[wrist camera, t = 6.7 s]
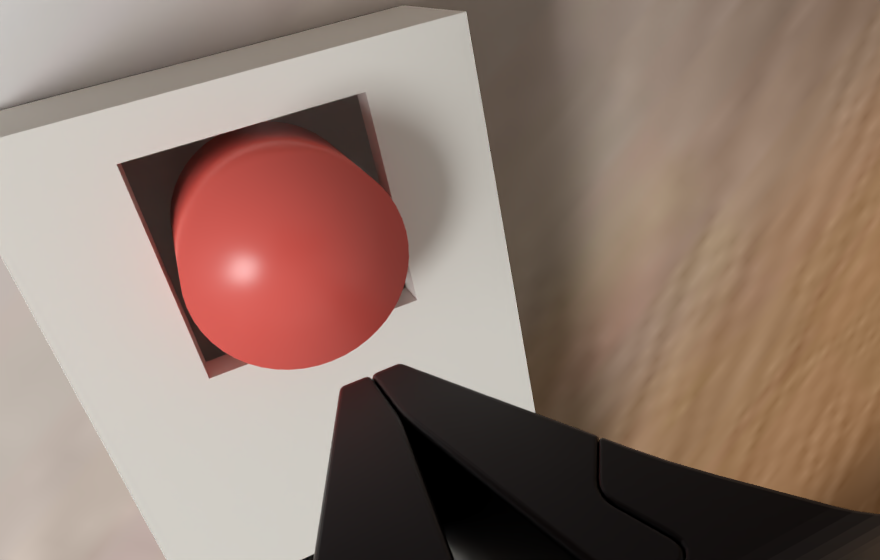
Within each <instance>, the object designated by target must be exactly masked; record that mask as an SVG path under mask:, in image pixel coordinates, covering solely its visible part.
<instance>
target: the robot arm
mask: <svg viewBox="0 0 880 560" xmlns="http://www.w3.org/2000/svg"><path fill="white" fill-rule="evenodd" d="M313 560H880V514H874V513H867V512H860V511H854V510H849V509H845V508H840V507H836V506H832V505H828V504H824V503H821V502H817V501H813V500H809V499H806V498H802V497H798V496H794V495H790V494H787V493H783V492H779V491H775V490H772V489H768V488H764V487H760V486H757V485H753V484H749V483H745V482H741V481H738V480H734V479H730V478H726V477H723V476H719V475H715V474H712V473H708V472H705V471H701V470H698V469H694V468H691V467H687V466H684V465H681V464H677V463H674V462H670V461H667V460H664V459H661V458H658V457H655V456H652V455H650V454H647V453H644V452H641V451H638V450H635V449H632V448H629V447H626V446H624V445H621V444H618V443H615V442H613V441H610V440H607V439H605V438H601V439H600V440H599V438H598V437H597V436H596V435H593V434H590V433H588V432H585V431H582V430H580V429H577V428H574V427H572V426H569V425H566V424H563V423H561V422H558V421H555V420H553V419H550V418H547V417H545V416H542V415H539V414H536V413H534V412H531V411H528V410H526V409H523V408H520V407H517V406H515V405H512V404H509V403H507V402H504V401H501V400H499V399H496V398H493V397H490V396H488V395H485V394H482V393H480V392H477V391H474V390H472V389H469V388H466V387H463V386H461V385H458V384H455V383H453V382H450V381H447V380H445V379H442V378H439V377H436V376H434V375H431V374H428V373H426V372H423V371H420V370H418V369H415V368H412V367H409V366H407V365H404V364H397V365H394V366H392V367H389V368H387V369H384V370H382V371H379V372H377V373H375V374H374V375H373V378H372V379H371V378H370V377H364V378H362V379H359V380H357V381H354V382H352V383H349V384H347V385H344V386H342V387H341V389H340V391H339V397H338V404H337V410H336V417H335V423H334V430H333V436H332V442H331V449H330V455H329V462H328V468H327V475H326V481H325V488H324V494H323V501H322V507H321V514H320V520H319V526H318V533H317V539H316V546H315V552H314V559H313Z"/></svg>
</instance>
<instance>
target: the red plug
mask: <svg viewBox="0 0 880 560" xmlns="http://www.w3.org/2000/svg"><path fill="white" fill-rule="evenodd" d="M170 224H171V230H172V236H173V242H174V249H175V255H176V261H177V267H178V273H179V279H180V285H181V291H182V295H183V298H184V301H185V304H186V307H187V309H188V311H189V313H190V315H191V317H192V319H193V321H194V322H195V324H196V325H197V326H198V328H199V329H200V331H201V332H202V333H203V334H204V335H205V336H206V337H207V338H208V339H209V340H210V341H211V342H212V343H213V344H214V345H216V346H217V347H218V348H219V349H221V350H222V351H223V352H225V353H227V354H229V355H230V356H232V357H234V358H236V359H238V360H240V361H243V362H245V363H248V364H251V365H255V366H258V367H262V368H269V369H277V370H294V369H304V368H309V367H314V366H319V365H322V364H325V363H328V362H331V361H333V360H335V359H338V358H340V357H342V356H344V355H346V354H348V353H349V352H351V351H353V350H354V349H356V348H357V347H359V346H360V345H361V344H363V343H364V342H365V341H367V340H368V339H369V338H370V337H371V336H372V335H373V334H374V333H375V332H376V331H378V329H379V328H380V327H381V326H382V325H383V323H384V322H385V321H386V320H387V318H388V317H389V315H390V314H391V312H392V311H393V309H394V308H395V306H396V304H397V302H398V300H399V298H400V296H401V293H402V290H403V287H404V284H405V280H406V276H407V272H408V262H409V245H408V238H407V233H406V229H405V226H404V223H403V219H402V217H401V215H400V213H399V211H398V209H397V207H396V205H395V203H394V202H393V200H392V199H391V197H390V196H389V195H388V193H387V192H386V191H385V190H384V189H383V188H382V187H381V186H380V184H378V183H377V182H376V181H375V180H374V179H373V178H371V177H370V176H369V175H368V174H367V173H365V172H364V171H363V170H362V169H360V168H359V167H358V166H357V165H356V164H354V163H353V162H352V161H351V160H350V159H348V158H347V157H346V156H345V155H344V154H342V153H341V152H340V151H339V150H337V149H336V148H335V147H334V146H333V145H331V144H330V143H329V142H328V141H327V140H325V139H324V138H322V137H320V136H319V135H317V134H316V133H314V132H311V131H309V130H307V129H305V128H302V127H299V126H296V125H293V124H287V123H281V122H260V123H257V124H253V125H250V126H247V127H243V128H240V129H236V130H233V131H229V132H226V133H222V134H219V135H217V136H215V137H214V138H213V139H211V140H210V141H208V142H207V143H206V144H204V145H203V146H202V147H201V148H200V149H199V150H198V151H197V152H196V153H195V154H194V155H193V156H192V157H191V159H190V160H189V161H188V162H187V164H186V165H185V167H184V169H183V170H182V172H181V174H180V175H179V178H178V180H177V182H176V185H175V188H174V191H173V195H172V199H171V208H170Z"/></svg>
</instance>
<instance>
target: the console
mask: <svg viewBox="0 0 880 560" xmlns="http://www.w3.org/2000/svg"><path fill="white" fill-rule="evenodd" d="M260 122H281V123H287V124H293V125H296V126H299V127H302V128H305V129H307V130H309V131H311V132H314V133H316V134H317V135H319V136H320V137H322V138H324V139H325V140H327V141H328V142H329V143H330V144H331V145H333V146H334V147H335V148H336V149H337V150H339V151H340V152H341V153H342V154H344V155H345V156H346V157H347V158H348V159H350V160H351V161H352V162H353V163H354V164H356V165H357V166H358V167H359V168H360V169H362V170H363V171H364V172H365V173H367V174H368V175H369V176H370V177H371V178H373V179H374V180H375V181H376V182H377V183H378V184H380V186H381V187H382V188H383V189H384V190H385V191H386V192H387V193H388V195H389V196H390V197H391V199H392V200H393V202H394V203H395V205H396V207H397V209H398V211H399V213H400V215H401V217H402V219H403V223H404V226H405V229H406V233H407V238H408V245H409V262H408V272H407V276H406V280H405V284H404V287H403V290H402V293H401V296H400V298H399V300H398V302H397V304H396V306H395V308H394V309H393V311H392V312H391V314H390V315H389V317H388V318H387V320H386V321H385V322H384V323H383V325H382V326H381V327H380V328H379V329H378V331H376V332H375V333H374V334H373V335H372V336H371V337H370V338H369V339H368V340H367V341H365V342H364V343H363V344H361V345H360V346H359V347H357V348H356V349H354V350H353V351H351V352H349V353H348V354H346V355H344V356H342V357H340V358H338V359H335V360H333V361H331V362H328V363H325V364H322V365H319V366H314V367H309V368H304V369H294V370H277V369H269V368H262V367H258V366H255V365H251V364H248V363H245V362H243V361H240V360H238V359H236V358H234V357H232V356H230V355H229V354H227V353H225V352H223V351H222V350H221V349H219V348H218V347H217V346H216V345H214V344H213V343H212V342H211V341H210V340H209V339H208V338H207V337H206V336H205V335H204V334H203V333H202V332H201V331H200V329H199V328H198V326H197V325H196V324H195V322H194V321H193V319H192V317H191V315H190V313H189V311H188V309H187V307H186V304H185V301H184V298H183V295H182V291H181V285H180V279H179V273H178V267H177V261H176V255H175V249H174V242H173V236H172V230H171V224H170V208H171V199H172V195H173V191H174V188H175V185H176V182H177V180H178V178H179V175H180V174H181V172H182V170H183V169H184V167H185V165H186V164H187V162H188V161H189V160H190V159H191V157H192V156H193V155H194V154H195V153H196V152H197V151H198V150H199V149H200V148H201V147H202V146H203V145H204V144H206V143H207V142H208V141H210V140H211V139H213V138H214V137H215V136H217V135H219V134H222V133H226V132H229V131H233V130H236V129H240V128H243V127H247V126H250V125H253V124H257V123H260ZM0 256H1V258H2V260H3V262H4V264H5V266H6V267H7V269H8V271H9V273H10V275H11V277H12V278H13V280H14V282H15V284H16V286H17V288H18V289H19V291H20V293H21V295H22V297H23V298H24V300H25V302H26V304H27V306H28V308H29V309H30V311H31V313H32V315H33V317H34V319H35V320H36V322H37V324H38V326H39V328H40V330H41V331H42V333H43V335H44V337H45V339H46V341H47V342H48V344H49V346H50V348H51V350H52V352H53V353H54V355H55V357H56V359H57V361H58V363H59V364H60V366H61V368H62V370H63V372H64V374H65V375H66V377H67V379H68V381H69V383H70V384H71V386H72V388H73V390H74V392H75V394H76V395H77V397H78V399H79V401H80V403H81V405H82V406H83V408H84V410H85V412H86V414H87V416H88V417H89V419H90V421H91V423H92V425H93V427H94V428H95V430H96V432H97V434H98V436H99V438H100V439H101V441H102V443H103V445H104V447H105V449H106V450H107V452H108V454H109V456H110V458H111V460H112V461H113V463H114V465H115V467H116V469H117V470H118V472H119V474H120V476H121V478H122V480H123V481H124V483H125V485H126V487H127V489H128V491H129V492H130V494H131V496H132V498H133V500H134V502H135V503H136V505H137V507H138V509H139V511H140V513H141V514H142V516H143V518H144V520H145V522H146V524H147V525H148V527H149V529H150V531H151V533H152V535H153V536H154V538H155V540H156V542H157V544H158V546H159V547H160V549H161V551H162V553H163V555H164V556H165V558H166V560H308V559H307V557H308V556H310V555H312V554H314V552H315V546H316V539H317V533H318V526H319V520H320V514H321V507H322V501H323V494H324V488H325V481H326V475H327V468H328V462H329V455H330V449H331V442H332V436H333V430H334V423H335V417H336V410H337V404H338V397H339V391H340V389H341V387H342V386H344V385H347V384H349V383H352V382H354V381H357V380H359V379H362V378H364V377H370V378H371V379H372V378H373V375H374V374H375V373H377V372H379V371H382V370H384V369H387V368H389V367H392V366H394V365H397V364H404V365H407V366H409V367H412V368H415V369H418V370H420V371H423V372H426V373H428V374H431V375H434V376H436V377H439V378H442V379H445V380H447V381H450V382H453V383H455V384H458V385H461V386H463V387H466V388H469V389H472V390H474V391H477V392H480V393H482V394H485V395H488V396H490V397H493V398H496V399H499V400H501V401H504V402H507V403H509V404H512V405H515V406H517V407H520V408H523V409H526V410H528V411H531V412H534V413H535V408H534V402H533V396H532V390H531V385H530V379H529V373H528V367H527V361H526V356H525V350H524V344H523V338H522V332H521V327H520V321H519V315H518V309H517V303H516V297H515V292H514V286H513V280H512V274H511V268H510V263H509V257H508V251H507V245H506V239H505V234H504V228H503V222H502V216H501V210H500V205H499V199H498V193H497V187H496V181H495V175H494V170H493V164H492V158H491V152H490V146H489V141H488V135H487V129H486V123H485V117H484V112H483V106H482V100H481V94H480V88H479V83H478V77H477V71H476V65H475V59H474V54H473V48H472V42H471V36H470V30H469V24H468V19H467V13H466V11H456V10H446V9H435V8H425V7H415V6H405V5H402V6H398V7H394V8H391V9H387V10H383V11H379V12H375V13H371V14H368V15H364V16H360V17H356V18H352V19H348V20H345V21H341V22H337V23H333V24H329V25H325V26H322V27H318V28H314V29H310V30H306V31H302V32H299V33H295V34H291V35H287V36H283V37H279V38H276V39H272V40H268V41H264V42H260V43H256V44H253V45H249V46H245V47H241V48H237V49H233V50H230V51H226V52H222V53H218V54H214V55H210V56H207V57H203V58H199V59H195V60H191V61H188V62H184V63H180V64H176V65H172V66H168V67H165V68H161V69H157V70H153V71H149V72H145V73H142V74H138V75H134V76H130V77H126V78H122V79H119V80H115V81H111V82H107V83H103V84H99V85H96V86H92V87H88V88H84V89H80V90H76V91H73V92H69V93H65V94H61V95H57V96H53V97H50V98H46V99H42V100H38V101H34V102H30V103H27V104H23V105H19V106H15V107H11V108H7V109H4V110H0Z"/></svg>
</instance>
